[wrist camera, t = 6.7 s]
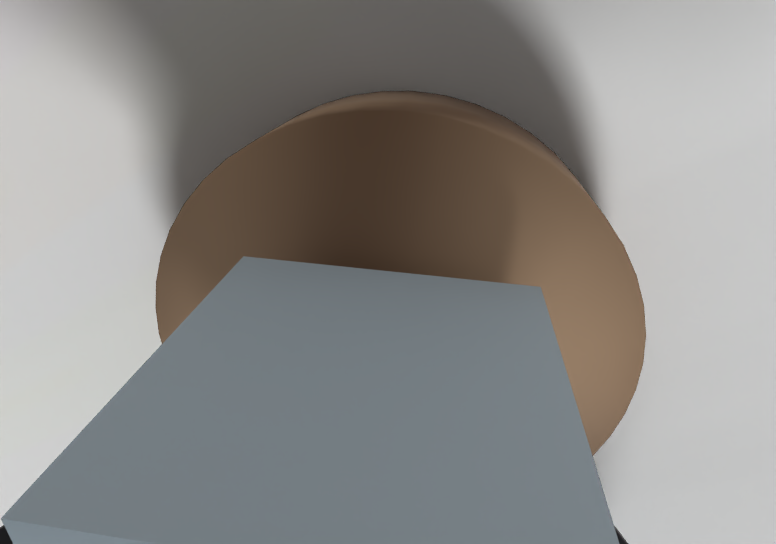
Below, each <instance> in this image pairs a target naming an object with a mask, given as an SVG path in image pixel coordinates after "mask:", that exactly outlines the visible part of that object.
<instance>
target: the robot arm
mask: <svg viewBox="0 0 776 544" xmlns="http://www.w3.org/2000/svg"><path fill="white" fill-rule="evenodd" d="M614 528H615V531H616V534H617V537H618V541H619V544H628V543H627V542H626V540H625V539H624V538H623V536H622V535H621V534H620V532H619V531H618V530H617V528H616V527H615V526H614ZM0 544H13V542H12V540H11V538H10V536H9V534H8V532H7V530H6V528H5V526H4V525H3V526H2V527H0Z"/></svg>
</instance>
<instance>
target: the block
mask: <svg viewBox="0 0 776 544" xmlns="http://www.w3.org/2000/svg"><path fill="white" fill-rule="evenodd" d="M1 520H2V522H3V524H4V526H5V528H6V530H7V532H8V534H9V536H10V538H11V540H12V542H13V544H619V541H618V537H617V534H616V531H615V528H614V524H613V521H612V518H611V515H610V511H609V508H608V505H607V502H606V498H605V495H604V492H603V489H602V485H601V482H600V479H599V475H598V472H597V469H596V466H595V462H594V459H593V456H592V453H591V449H590V446H589V443H588V440H587V436H586V433H585V430H584V427H583V423H582V420H581V417H580V413H579V410H578V407H577V404H576V400H575V397H574V394H573V391H572V387H571V384H570V381H569V378H568V374H567V371H566V368H565V365H564V361H563V358H562V355H561V351H560V348H559V345H558V342H557V338H556V335H555V332H554V329H553V325H552V322H551V319H550V316H549V312H548V309H547V306H546V303H545V299H544V296H543V293H542V290H541V287H537V286H528V285H518V284H508V283H498V282H489V281H479V280H469V279H459V278H450V277H440V276H430V275H421V274H411V273H401V272H391V271H382V270H372V269H362V268H352V267H343V266H333V265H323V264H314V263H304V262H294V261H284V260H275V259H265V258H255V257H245V256H243V257H242V258H241V259H240V261H239V262H238V263H237V264H236V265H235V266H234V267H233V268H232V269H231V270H230V271H229V272H228V274H227V275H226V276H225V277H224V278H223V279H222V280H221V281H220V282H219V283H218V284H217V285H216V286H215V288H214V289H213V290H212V291H211V292H210V293H209V294H208V295H207V296H206V297H205V298H204V299H203V301H202V302H201V303H200V304H199V305H198V306H197V307H196V308H195V309H194V310H193V311H192V312H191V313H190V315H189V316H188V317H187V318H186V319H185V320H184V321H183V322H182V323H181V324H180V325H179V326H178V328H177V329H176V330H175V331H174V332H173V333H172V334H171V335H170V336H169V337H168V338H167V339H166V341H165V342H164V343H163V344H162V345H161V346H160V347H159V348H158V349H157V350H156V351H155V352H154V353H153V355H152V356H151V357H150V358H149V359H148V360H147V361H146V362H145V363H144V364H143V365H142V366H141V368H140V369H139V370H138V371H137V372H136V373H135V374H134V375H133V376H132V377H131V378H130V379H129V381H128V382H127V383H126V384H125V385H124V386H123V387H122V388H121V389H120V390H119V391H118V392H117V393H116V395H115V396H114V397H113V398H112V399H111V400H110V401H109V402H108V403H107V404H106V405H105V406H104V408H103V409H102V410H101V411H100V412H99V413H98V414H97V415H96V416H95V417H94V418H93V419H92V421H91V422H90V423H89V424H88V425H87V426H86V427H85V428H84V429H83V430H82V431H81V432H80V433H79V435H78V436H77V437H76V438H75V439H74V440H73V441H72V442H71V443H70V444H69V445H68V446H67V448H66V449H65V450H64V451H63V452H62V453H61V454H60V455H59V456H58V457H57V458H56V459H55V461H54V462H53V463H52V464H51V465H50V466H49V467H48V468H47V469H46V470H45V471H44V472H43V473H42V475H41V476H40V477H39V478H38V479H37V480H36V481H35V482H34V483H33V484H32V485H31V486H30V488H29V489H28V490H27V491H26V492H25V493H24V494H23V495H22V496H21V497H20V498H19V499H18V501H17V502H16V503H15V504H14V505H13V506H12V507H11V508H10V509H9V510H8V511H7V512H6V513H5V515H4V516H3V517H2V518H1Z"/></svg>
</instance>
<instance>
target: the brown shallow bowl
mask: <svg viewBox="0 0 776 544" xmlns="http://www.w3.org/2000/svg"><path fill="white" fill-rule="evenodd" d="M243 256H245V257H255V258H265V259H275V260H284V261H294V262H304V263H314V264H323V265H333V266H343V267H352V268H362V269H372V270H382V271H391V272H401V273H411V274H421V275H430V276H440V277H450V278H459V279H469V280H479V281H489V282H498V283H508V284H518V285H528V286H537V287H541V290H542V293H543V296H544V299H545V303H546V306H547V309H548V312H549V316H550V319H551V322H552V325H553V329H554V332H555V335H556V338H557V342H558V345H559V348H560V351H561V355H562V358H563V361H564V365H565V368H566V371H567V374H568V378H569V381H570V384H571V387H572V391H573V394H574V397H575V400H576V404H577V407H578V410H579V413H580V417H581V420H582V423H583V427H584V430H585V433H586V436H587V440H588V443H589V446H590V449H591V453H592V456H593V455H594V454H595V453H596V452H597V450H598V449H599V448H600V447H601V446H602V445H603V444H604V443H605V441H606V440H607V439H608V438H609V437H610V436H611V434H612V433H613V431H614V430H615V428H616V427H617V425H618V424H619V422H620V420H621V419H622V417H623V416H624V414H625V412H626V410H627V408H628V406H629V404H630V401H631V399H632V397H633V395H634V393H635V391H636V387H637V384H638V380H639V376H640V373H641V369H642V366H643V359H644V349H645V340H646V329H645V314H644V304H643V300H642V296H641V292H640V288H639V284H638V279H637V275H636V273H635V271H634V268H633V266H632V264H631V261H630V259H629V257H628V254H627V252H626V250H625V248H624V245H623V244H622V242H621V241H620V239H619V237H618V236H617V234H616V233H615V231H614V230H613V228H612V226H611V225H610V223H609V222H608V220H607V219H606V217H605V216H604V214H603V213H602V212H601V210H600V209H599V208H598V206H597V205H596V204H595V202H594V201H593V200H592V198H591V197H590V196H589V194H588V193H587V192H586V190H585V189H584V188H583V186H582V185H581V184H580V182H579V181H578V180H577V178H576V177H575V176H574V175H573V173H572V172H571V171H570V170H569V169H568V168H567V167H566V165H565V164H564V163H563V162H562V161H561V160H560V159H559V158H558V156H557V155H556V154H555V153H554V152H553V151H552V150H550V149H549V148H548V147H547V146H546V145H544V144H543V143H542V142H541V141H540V140H539V139H537V138H536V137H535V136H534V135H533V134H531V133H530V132H528V131H527V130H525V129H523V128H522V127H520V126H519V125H517V124H515V123H514V122H512V121H511V120H509V119H507V118H506V117H504V116H502V115H499V114H497V113H495V112H493V111H490V110H488V109H486V108H483V107H481V106H479V105H477V104H474V103H470V102H466V101H463V100H459V99H456V98H452V97H449V96H445V95H438V94H431V93H424V92H416V91H380V92H373V93H366V94H359V95H352V96H349V97H345V98H342V99H338V100H335V101H332V102H328V103H325V104H322V105H320V106H318V107H315V108H313V109H311V110H309V111H307V112H305V113H302V114H300V115H298V116H296V117H294V118H293V119H291V120H289V121H287V122H286V123H284V124H282V125H281V126H279V127H277V128H275V129H274V130H272V131H270V132H269V133H267V134H265V135H263V136H262V137H260V138H258V139H257V140H255V141H253V142H252V143H250V144H249V145H247V146H246V147H244V148H243V149H241V150H239V151H238V152H236V153H235V154H233V155H232V156H230V157H229V158H227V159H226V160H225V161H224V162H223V163H221V164H220V165H219V166H218V167H217V168H216V169H215V170H214V171H213V172H212V173H210V174H209V175H208V176H207V177H206V178H205V179H204V180H203V181H202V182H201V183H200V185H199V186H198V187H197V188H196V190H195V191H194V192H193V193H192V195H191V196H190V197H189V198H188V200H187V201H186V202H185V204H184V205H183V207H182V209H181V210H180V212H179V214H178V216H177V218H176V219H175V221H174V223H173V225H172V227H171V229H170V231H169V234H168V237H167V239H166V242H165V245H164V248H163V251H162V254H161V257H160V263H159V269H158V274H157V280H156V314H157V322H158V329H159V335H160V339H161V342H162V344H163V343H164V342H165V341H166V339H167V338H168V337H169V336H170V335H171V334H172V333H173V332H174V331H175V330H176V329H177V328H178V326H179V325H180V324H181V323H182V322H183V321H184V320H185V319H186V318H187V317H188V316H189V315H190V313H191V312H192V311H193V310H194V309H195V308H196V307H197V306H198V305H199V304H200V303H201V302H202V301H203V299H204V298H205V297H206V296H207V295H208V294H209V293H210V292H211V291H212V290H213V289H214V288H215V286H216V285H217V284H218V283H219V282H220V281H221V280H222V279H223V278H224V277H225V276H226V275H227V274H228V272H229V271H230V270H231V269H232V268H233V267H234V266H235V265H236V264H237V263H238V262H239V261H240V259H241V258H242V257H243Z"/></svg>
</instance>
